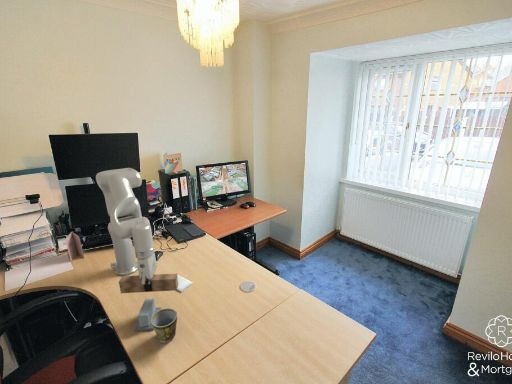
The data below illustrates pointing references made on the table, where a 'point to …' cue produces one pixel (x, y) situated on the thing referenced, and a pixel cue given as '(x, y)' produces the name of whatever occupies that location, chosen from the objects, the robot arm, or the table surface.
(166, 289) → the walnut batten
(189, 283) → the hard drive
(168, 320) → the ceramic cup
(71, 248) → the greeting card
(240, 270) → the table surface
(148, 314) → the ridge block
